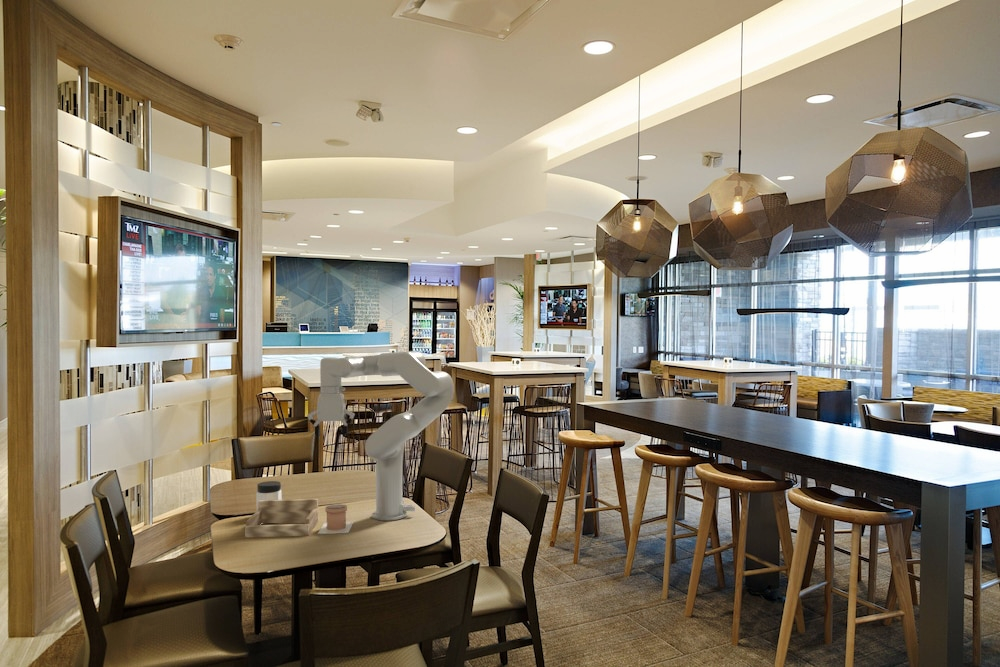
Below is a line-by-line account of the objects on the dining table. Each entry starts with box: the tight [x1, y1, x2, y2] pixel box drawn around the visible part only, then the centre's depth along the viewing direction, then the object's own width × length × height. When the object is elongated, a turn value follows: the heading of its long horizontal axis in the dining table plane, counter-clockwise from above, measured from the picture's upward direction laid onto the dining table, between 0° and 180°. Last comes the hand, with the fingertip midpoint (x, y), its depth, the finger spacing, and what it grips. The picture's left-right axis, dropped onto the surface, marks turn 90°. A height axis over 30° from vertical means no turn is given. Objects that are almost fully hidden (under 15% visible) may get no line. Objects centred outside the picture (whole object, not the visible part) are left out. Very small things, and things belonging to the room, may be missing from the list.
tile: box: [317, 521, 354, 535], centre depth 224 cm, size 10×12×1 cm
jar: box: [255, 480, 283, 511], centre depth 240 cm, size 9×8×12 cm
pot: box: [324, 503, 348, 530], centre depth 224 cm, size 7×7×7 cm
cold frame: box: [244, 498, 319, 538], centre depth 224 cm, size 20×16×8 cm
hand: (331, 436), depth 245 cm, fingers open, 9 cm apart
